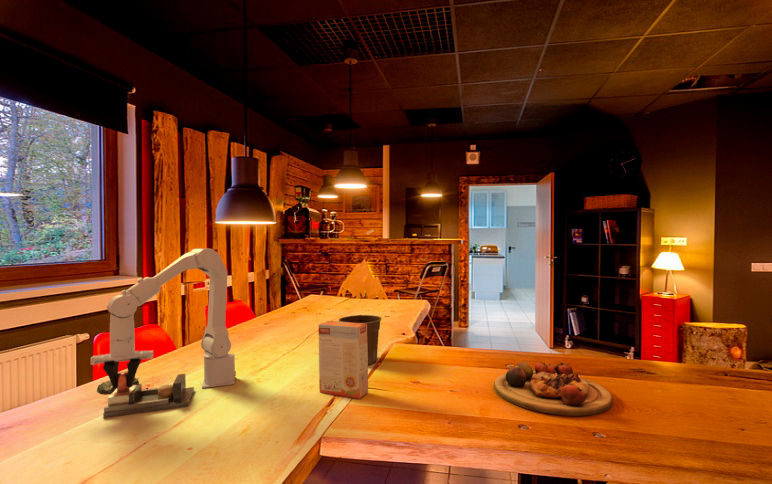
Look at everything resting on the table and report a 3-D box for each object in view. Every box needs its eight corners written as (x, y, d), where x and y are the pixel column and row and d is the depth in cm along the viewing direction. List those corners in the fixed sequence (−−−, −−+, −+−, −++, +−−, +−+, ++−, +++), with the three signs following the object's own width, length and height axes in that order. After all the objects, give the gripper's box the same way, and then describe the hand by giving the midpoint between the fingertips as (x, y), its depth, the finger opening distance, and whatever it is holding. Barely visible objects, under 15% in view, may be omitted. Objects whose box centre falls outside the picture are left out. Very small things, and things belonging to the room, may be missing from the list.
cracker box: (369, 392, 117) (368, 322, 117) (359, 400, 111) (358, 327, 111) (329, 385, 123) (328, 319, 123) (318, 392, 117) (317, 323, 117)
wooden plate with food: (632, 424, 96) (632, 390, 96) (497, 412, 102) (497, 380, 102) (592, 380, 127) (592, 355, 127) (491, 373, 134) (490, 349, 134)
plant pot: (333, 358, 152) (333, 316, 152) (371, 352, 159) (371, 313, 159) (347, 370, 137) (347, 324, 137) (389, 363, 144) (388, 320, 144)
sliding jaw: (141, 394, 114) (141, 367, 114) (134, 405, 106) (133, 376, 106) (117, 397, 112) (117, 369, 112) (108, 408, 104) (107, 379, 104)
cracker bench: (193, 390, 120) (193, 370, 120) (188, 406, 109) (187, 384, 109) (118, 400, 113) (117, 379, 113) (103, 418, 102) (103, 394, 102)
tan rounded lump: (175, 393, 115) (175, 383, 115) (172, 399, 111) (172, 388, 111) (159, 395, 113) (159, 385, 113) (156, 401, 110) (156, 390, 110)
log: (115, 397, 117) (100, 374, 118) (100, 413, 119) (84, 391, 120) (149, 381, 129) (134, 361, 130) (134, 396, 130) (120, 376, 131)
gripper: (85, 344, 103) (86, 396, 103) (148, 339, 107) (149, 388, 107) (95, 338, 109) (96, 386, 109) (154, 333, 114) (155, 380, 114)
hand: (123, 387), depth 109 cm, fingers closed on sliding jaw, 3 cm apart
